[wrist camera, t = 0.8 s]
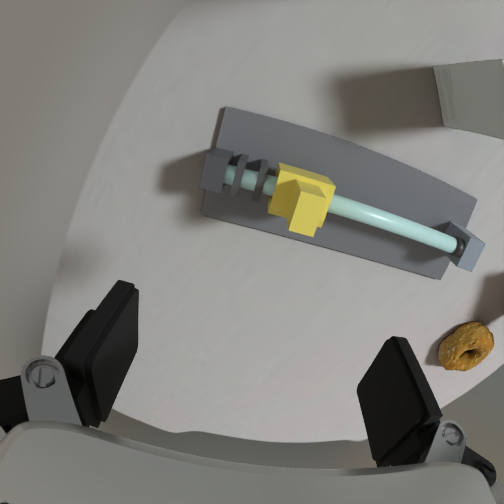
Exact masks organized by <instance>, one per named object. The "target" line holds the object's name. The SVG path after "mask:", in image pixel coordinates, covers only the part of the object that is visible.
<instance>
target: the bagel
mask: <svg viewBox="0 0 504 504" xmlns="http://www.w3.org/2000/svg"><path fill="white" fill-rule="evenodd" d="M493 347H494V339H493V334H492V333H491V332H490V331H489V329H488V328H487V327H486V326H484V325H483V324H482V323H480V322H470V323H467V324H464V325H462V326H461V327H459V328H458V329H457V330H456V331H455V332H454V333H452V334H450V335H449V336H448V337H447V338H446V339H444V340H443V341H442V342H441V344H440V347H439V351H438V359H439V361H440V363H441V365H442V367H444V368H445V369H446V370H460V371H467V370H470V369H471V368H473V367H475V366H477V365H478V364H479V363H480V362H481V361H482V360H483V359H485V357H486V356H488V354H489V353H490V352H491V350H492V349H493Z"/></svg>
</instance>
